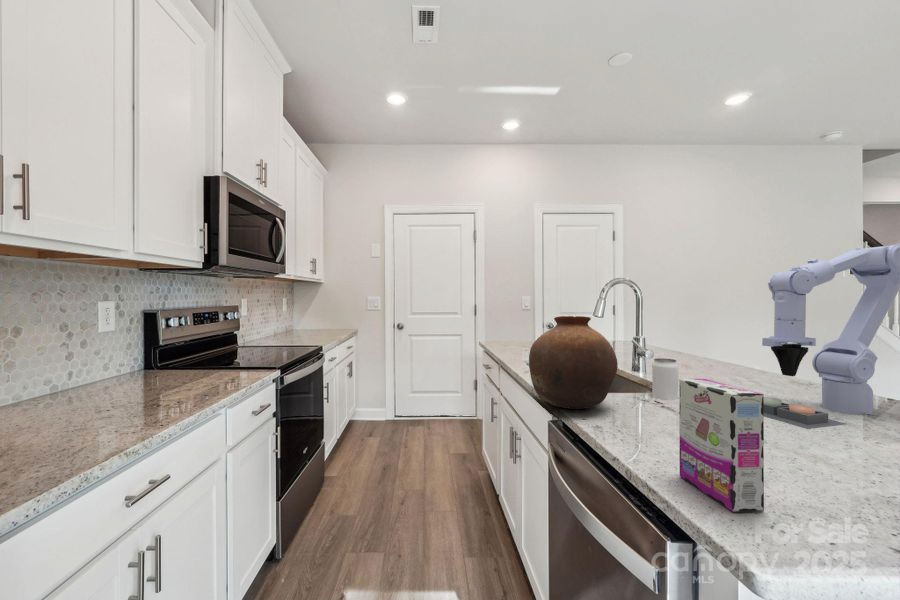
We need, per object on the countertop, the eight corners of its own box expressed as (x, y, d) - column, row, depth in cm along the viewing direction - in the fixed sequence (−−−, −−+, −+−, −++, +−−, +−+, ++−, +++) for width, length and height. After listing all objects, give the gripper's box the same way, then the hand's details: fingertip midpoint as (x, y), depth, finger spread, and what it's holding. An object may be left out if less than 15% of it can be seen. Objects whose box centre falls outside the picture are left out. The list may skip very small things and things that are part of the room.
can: (682, 405, 104) (682, 362, 104) (656, 404, 106) (656, 361, 106) (673, 399, 111) (673, 358, 111) (649, 398, 112) (649, 357, 112)
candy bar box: (767, 512, 52) (766, 393, 52) (733, 514, 52) (732, 394, 52) (706, 474, 64) (705, 377, 64) (677, 476, 63) (677, 377, 63)
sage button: (767, 405, 97) (767, 396, 97) (786, 410, 92) (786, 400, 92) (753, 406, 96) (753, 397, 96) (772, 411, 91) (772, 402, 91)
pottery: (561, 424, 90) (561, 318, 90) (514, 399, 112) (513, 314, 112) (637, 413, 97) (636, 316, 97) (579, 393, 119) (578, 313, 119)
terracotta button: (798, 413, 90) (798, 403, 90) (820, 419, 86) (820, 408, 86) (784, 415, 89) (784, 404, 89) (805, 420, 85) (805, 410, 85)
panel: (741, 402, 107) (741, 389, 107) (848, 430, 84) (848, 414, 84) (706, 405, 104) (706, 392, 104) (807, 435, 81) (807, 419, 81)
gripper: (793, 319, 99) (792, 371, 99) (750, 319, 95) (749, 373, 95) (826, 320, 92) (825, 376, 92) (780, 320, 88) (779, 379, 88)
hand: (788, 375), depth 93 cm, fingers closed
